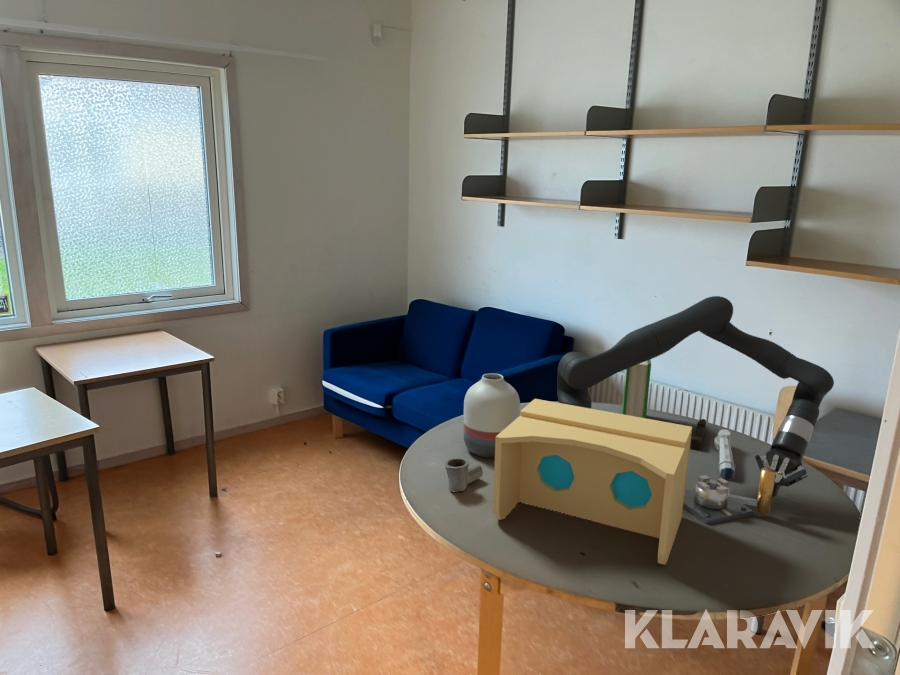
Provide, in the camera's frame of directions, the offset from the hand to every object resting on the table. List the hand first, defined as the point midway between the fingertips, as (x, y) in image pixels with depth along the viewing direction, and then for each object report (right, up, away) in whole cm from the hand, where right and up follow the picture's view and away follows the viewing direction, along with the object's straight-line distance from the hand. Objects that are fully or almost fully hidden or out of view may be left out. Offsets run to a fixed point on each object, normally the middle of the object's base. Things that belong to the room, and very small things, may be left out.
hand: (768, 496), depth 162 cm
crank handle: (-8, -3, +2) cm, 9 cm away
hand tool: (0, +7, +47) cm, 47 cm away
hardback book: (-17, +10, +59) cm, 63 cm away
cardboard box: (-46, -6, -3) cm, 46 cm away
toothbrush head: (+2, +2, +31) cm, 31 cm away
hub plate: (-13, -4, +5) cm, 14 cm away
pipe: (-76, -1, +14) cm, 77 cm away
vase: (-67, +5, +36) cm, 77 cm away
